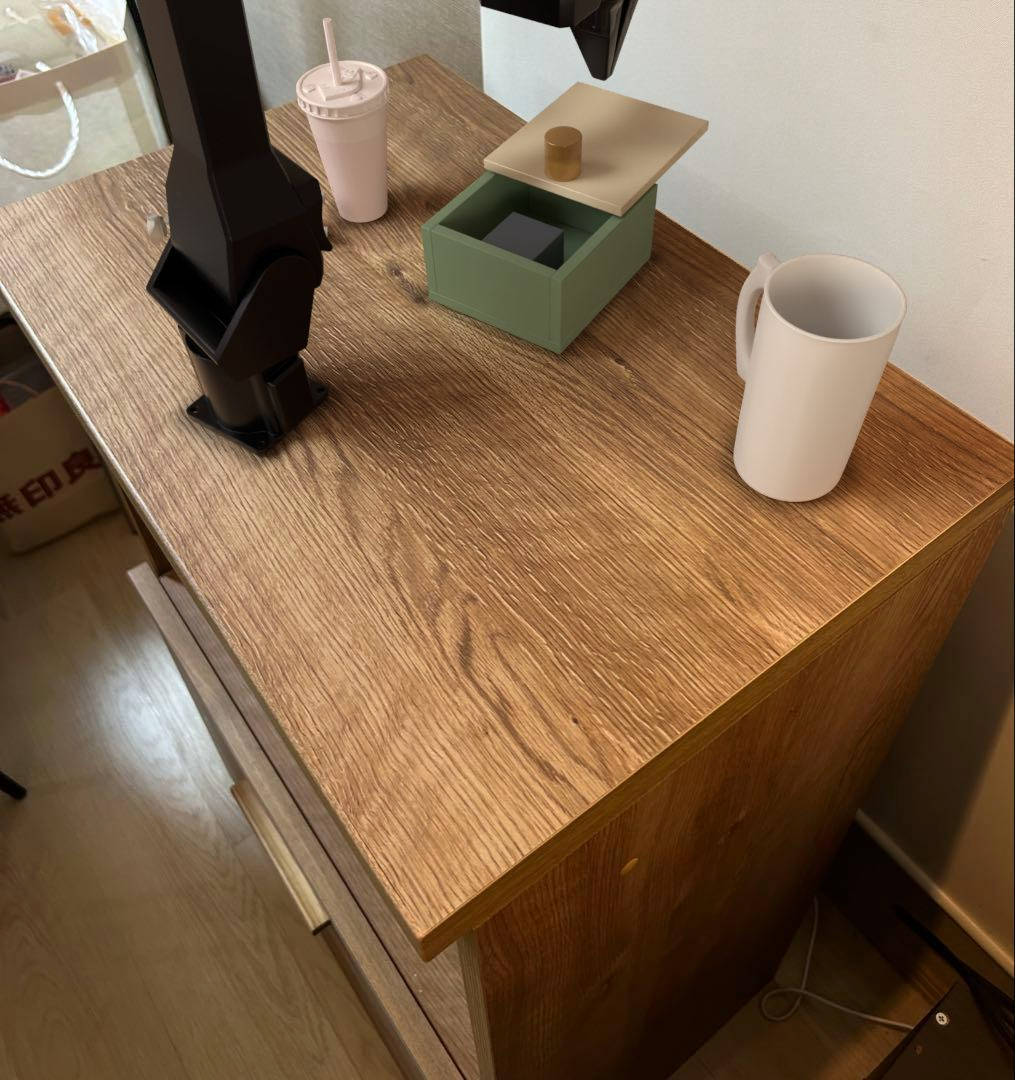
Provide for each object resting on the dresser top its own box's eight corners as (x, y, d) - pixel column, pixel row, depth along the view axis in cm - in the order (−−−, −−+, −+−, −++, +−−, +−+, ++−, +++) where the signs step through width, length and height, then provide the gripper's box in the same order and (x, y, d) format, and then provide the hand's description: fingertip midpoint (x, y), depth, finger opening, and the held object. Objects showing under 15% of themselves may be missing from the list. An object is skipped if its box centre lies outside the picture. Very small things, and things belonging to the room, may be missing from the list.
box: (428, 299, 67) (420, 226, 62) (525, 211, 73) (524, 139, 68) (560, 355, 63) (561, 281, 59) (650, 257, 69) (658, 183, 65)
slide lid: (483, 168, 66) (481, 123, 63) (577, 90, 72) (578, 46, 69) (621, 217, 62) (624, 171, 59) (708, 130, 68) (714, 85, 65)
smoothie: (305, 223, 73) (262, 31, 62) (345, 177, 76) (311, -13, 65) (382, 240, 71) (352, 46, 60) (419, 193, 75) (397, 1, 64)
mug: (871, 482, 56) (937, 315, 46) (771, 523, 54) (819, 359, 45) (769, 374, 62) (810, 205, 52) (677, 408, 60) (702, 241, 50)
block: (482, 292, 66) (478, 242, 63) (514, 261, 68) (513, 211, 65) (531, 313, 65) (530, 262, 61) (563, 280, 67) (564, 229, 63)
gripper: (668, -134, 43) (640, 185, 55) (835, -247, 52) (779, 48, 65) (463, -176, 47) (479, 130, 59) (651, -274, 56) (631, 8, 69)
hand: (601, 77), depth 63 cm, fingers closed
